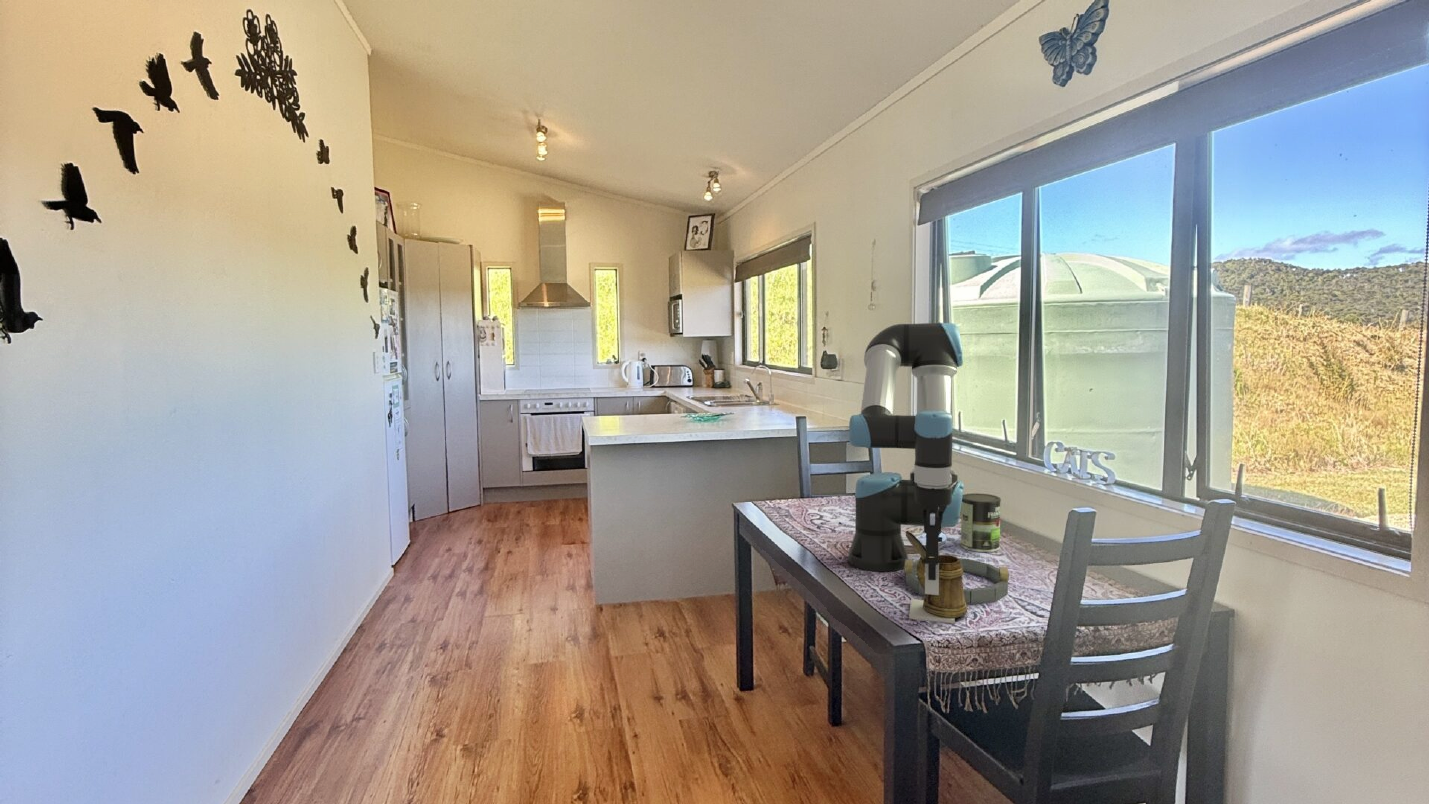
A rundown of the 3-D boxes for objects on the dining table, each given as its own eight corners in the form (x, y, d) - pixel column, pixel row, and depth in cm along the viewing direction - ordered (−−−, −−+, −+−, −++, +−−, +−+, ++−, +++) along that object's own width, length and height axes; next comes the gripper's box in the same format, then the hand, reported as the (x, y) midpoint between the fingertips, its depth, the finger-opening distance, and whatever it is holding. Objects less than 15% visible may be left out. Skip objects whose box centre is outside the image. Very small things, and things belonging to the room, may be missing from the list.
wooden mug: (896, 605, 147) (896, 525, 146) (953, 599, 150) (954, 520, 148) (915, 622, 139) (916, 536, 137) (975, 615, 141) (976, 531, 139)
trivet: (909, 618, 142) (909, 615, 142) (911, 602, 151) (911, 599, 151) (954, 623, 140) (954, 619, 140) (953, 606, 148) (953, 603, 148)
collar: (902, 597, 154) (902, 578, 153) (907, 565, 175) (907, 548, 174) (1012, 608, 146) (1012, 588, 146) (1003, 573, 168) (1004, 555, 167)
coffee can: (1006, 546, 188) (1007, 497, 187) (988, 555, 181) (989, 503, 180) (971, 539, 196) (972, 491, 194) (953, 546, 189) (953, 497, 188)
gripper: (952, 499, 130) (951, 606, 132) (951, 473, 153) (950, 564, 155) (912, 497, 132) (911, 602, 134) (916, 472, 155) (916, 561, 158)
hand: (932, 582), depth 145 cm, fingers open, 13 cm apart
